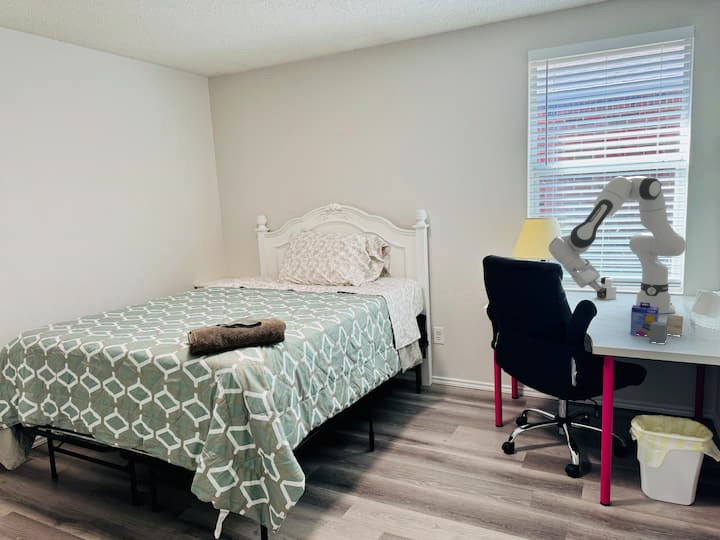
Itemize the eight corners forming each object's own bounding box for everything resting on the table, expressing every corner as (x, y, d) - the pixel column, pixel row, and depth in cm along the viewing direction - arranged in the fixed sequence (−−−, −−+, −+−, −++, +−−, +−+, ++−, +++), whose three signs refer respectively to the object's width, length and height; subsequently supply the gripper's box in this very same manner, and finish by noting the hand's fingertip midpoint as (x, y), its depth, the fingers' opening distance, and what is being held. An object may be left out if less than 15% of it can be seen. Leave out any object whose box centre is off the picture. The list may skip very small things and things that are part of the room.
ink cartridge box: (629, 335, 213) (631, 301, 211) (631, 331, 218) (632, 299, 215) (656, 338, 208) (658, 304, 205) (657, 334, 212) (659, 301, 210)
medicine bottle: (596, 297, 285) (597, 277, 283) (606, 296, 287) (607, 276, 285) (606, 300, 278) (606, 279, 276) (616, 298, 280) (617, 277, 278)
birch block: (668, 332, 214) (669, 314, 213) (681, 334, 211) (683, 316, 210) (665, 335, 211) (666, 317, 209) (679, 337, 207) (680, 318, 206)
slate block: (652, 340, 205) (653, 321, 204) (666, 342, 202) (667, 322, 201) (649, 343, 202) (650, 323, 200) (663, 345, 198) (664, 325, 197)
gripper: (574, 266, 218) (597, 289, 213) (589, 259, 233) (611, 281, 228) (563, 275, 222) (586, 298, 217) (579, 268, 237) (600, 290, 232)
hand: (599, 289), depth 223 cm, fingers closed
